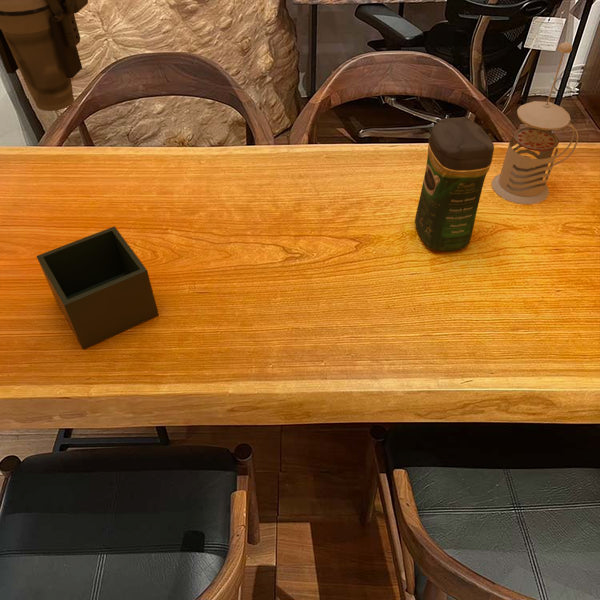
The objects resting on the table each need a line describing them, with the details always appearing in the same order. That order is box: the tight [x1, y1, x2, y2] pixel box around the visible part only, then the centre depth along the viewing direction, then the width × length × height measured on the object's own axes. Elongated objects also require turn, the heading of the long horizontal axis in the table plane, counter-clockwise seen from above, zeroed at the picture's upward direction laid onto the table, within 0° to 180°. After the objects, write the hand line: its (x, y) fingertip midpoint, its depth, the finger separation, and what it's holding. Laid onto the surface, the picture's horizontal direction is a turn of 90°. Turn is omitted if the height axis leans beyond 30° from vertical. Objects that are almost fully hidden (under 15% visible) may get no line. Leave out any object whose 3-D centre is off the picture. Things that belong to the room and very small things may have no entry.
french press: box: [491, 41, 579, 205], centre depth 93 cm, size 10×12×25 cm
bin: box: [36, 226, 160, 350], centre depth 79 cm, size 11×11×9 cm
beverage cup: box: [0, 0, 75, 112], centre depth 65 cm, size 7×7×20 cm
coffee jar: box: [414, 116, 495, 253], centre depth 87 cm, size 10×8×19 cm
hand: (44, 70), depth 69 cm, fingers closed on beverage cup, 7 cm apart
